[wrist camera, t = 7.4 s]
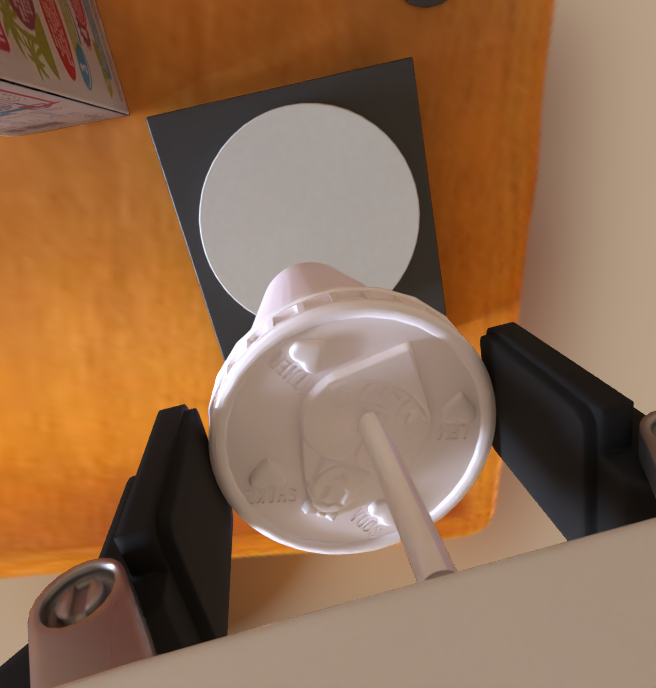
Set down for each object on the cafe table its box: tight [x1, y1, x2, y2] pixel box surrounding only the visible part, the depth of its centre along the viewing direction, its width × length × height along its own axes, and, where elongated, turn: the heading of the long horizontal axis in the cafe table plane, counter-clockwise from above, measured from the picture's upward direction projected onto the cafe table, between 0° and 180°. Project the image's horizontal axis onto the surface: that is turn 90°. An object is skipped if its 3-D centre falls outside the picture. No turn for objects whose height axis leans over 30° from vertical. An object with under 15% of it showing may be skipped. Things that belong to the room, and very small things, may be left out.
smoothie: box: [208, 262, 496, 583], centre depth 13 cm, size 6×6×14 cm
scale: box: [146, 57, 446, 362], centre depth 32 cm, size 18×15×4 cm
